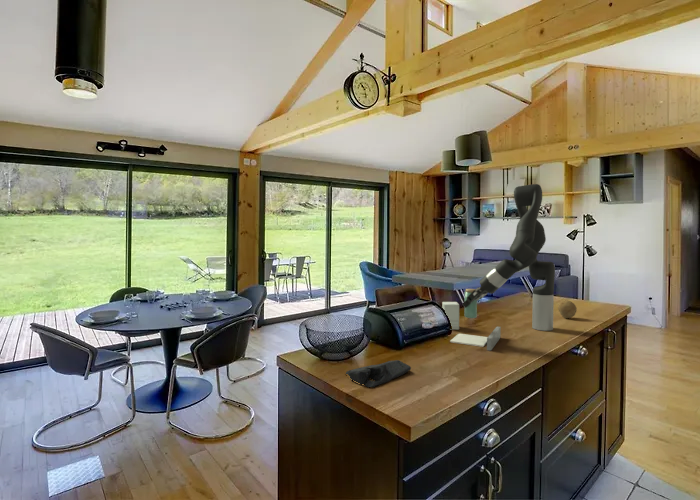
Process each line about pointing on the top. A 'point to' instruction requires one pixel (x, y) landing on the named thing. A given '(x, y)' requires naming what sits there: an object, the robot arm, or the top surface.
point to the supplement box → (452, 313)
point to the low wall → (493, 338)
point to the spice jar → (470, 306)
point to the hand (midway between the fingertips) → (466, 305)
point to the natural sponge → (567, 309)
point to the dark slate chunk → (378, 373)
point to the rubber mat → (470, 340)
